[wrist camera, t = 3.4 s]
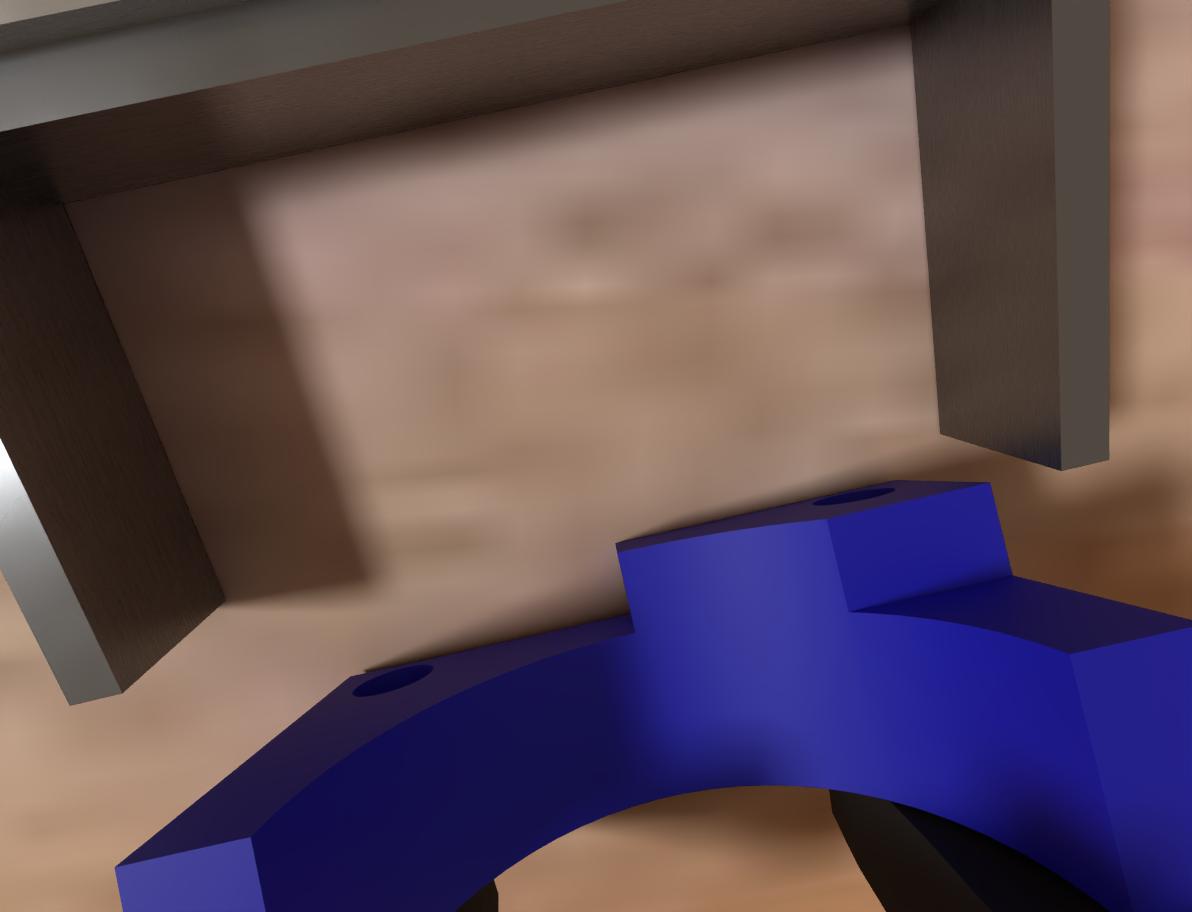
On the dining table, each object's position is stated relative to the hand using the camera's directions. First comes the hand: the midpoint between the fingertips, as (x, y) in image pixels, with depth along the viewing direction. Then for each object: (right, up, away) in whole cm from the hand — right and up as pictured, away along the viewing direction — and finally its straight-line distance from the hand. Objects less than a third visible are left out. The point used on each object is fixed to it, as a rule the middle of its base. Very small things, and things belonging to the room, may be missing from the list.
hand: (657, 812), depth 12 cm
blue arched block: (0, +3, +1) cm, 3 cm away
